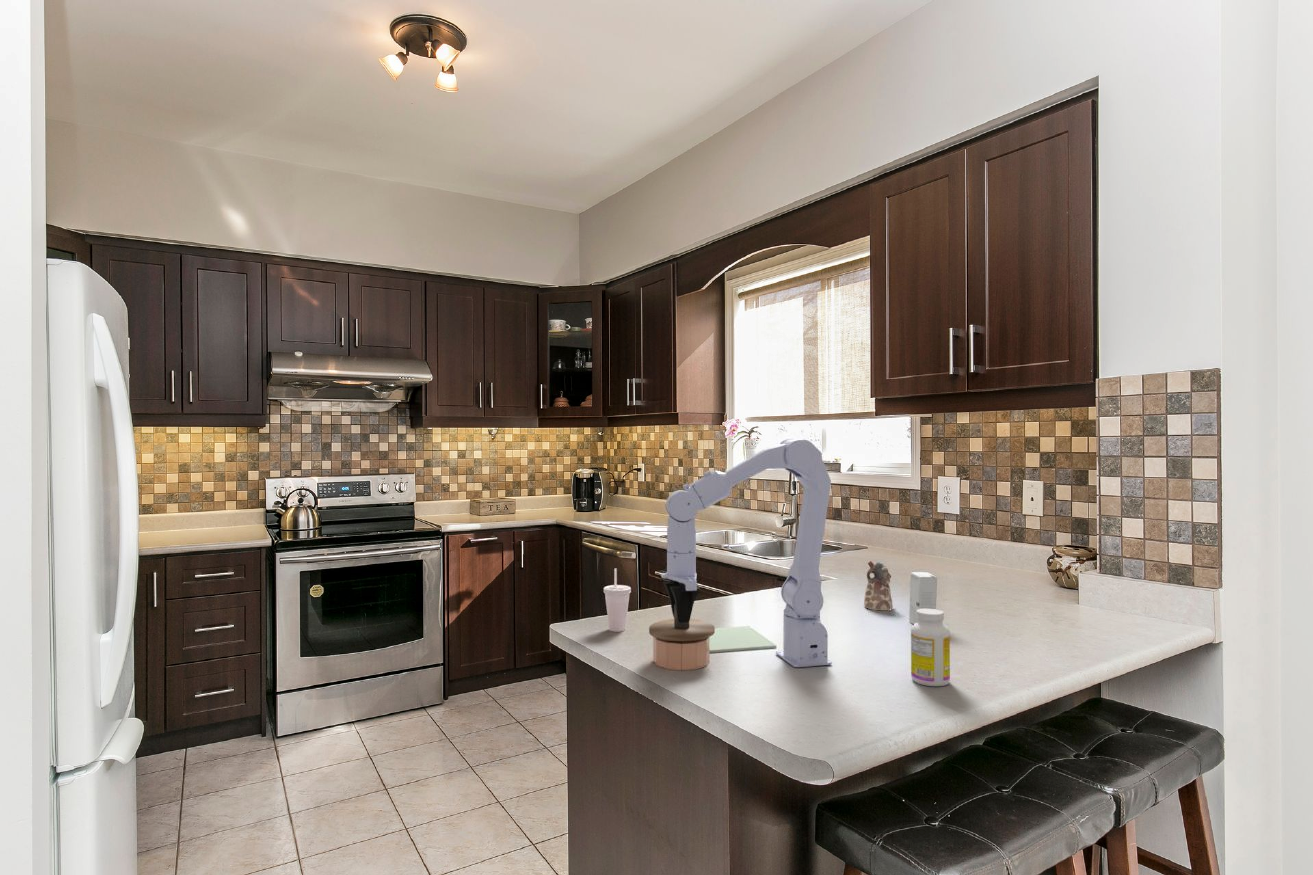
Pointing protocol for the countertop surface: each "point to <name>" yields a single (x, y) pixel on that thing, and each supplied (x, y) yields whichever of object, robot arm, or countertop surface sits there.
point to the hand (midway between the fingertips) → (681, 619)
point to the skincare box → (922, 593)
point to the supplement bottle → (930, 649)
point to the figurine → (878, 588)
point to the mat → (737, 640)
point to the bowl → (681, 654)
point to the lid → (681, 629)
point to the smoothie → (617, 604)
